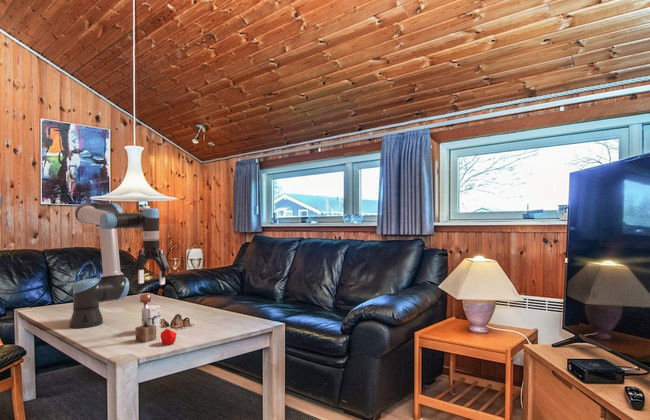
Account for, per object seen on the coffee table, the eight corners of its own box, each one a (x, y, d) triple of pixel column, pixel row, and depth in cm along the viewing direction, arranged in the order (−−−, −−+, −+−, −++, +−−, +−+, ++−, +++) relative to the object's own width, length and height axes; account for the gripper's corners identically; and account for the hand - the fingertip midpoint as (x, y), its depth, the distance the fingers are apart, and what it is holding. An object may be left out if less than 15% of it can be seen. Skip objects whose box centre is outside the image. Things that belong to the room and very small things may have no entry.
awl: (138, 329, 183) (137, 295, 184) (146, 327, 187) (145, 293, 188) (145, 330, 182) (145, 295, 182) (153, 327, 186) (152, 294, 186)
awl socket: (135, 341, 183) (135, 327, 183) (146, 337, 188) (146, 324, 188) (145, 342, 180) (145, 328, 180) (156, 338, 186) (156, 325, 186)
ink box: (150, 333, 195) (150, 308, 195) (141, 333, 196) (141, 308, 196) (161, 329, 203) (160, 304, 204) (152, 328, 204) (151, 304, 205)
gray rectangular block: (174, 329, 202) (174, 328, 202) (188, 324, 212) (188, 323, 212) (180, 329, 201) (180, 329, 201) (194, 324, 210) (194, 324, 210)
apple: (179, 331, 176) (172, 322, 182) (162, 337, 172) (156, 327, 178) (180, 344, 179) (174, 334, 185) (164, 351, 175) (158, 340, 181)
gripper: (125, 240, 203) (126, 284, 202) (165, 240, 193) (165, 286, 192) (138, 239, 210) (138, 281, 209) (176, 239, 200) (177, 283, 199)
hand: (151, 284), depth 201 cm, fingers open, 13 cm apart
